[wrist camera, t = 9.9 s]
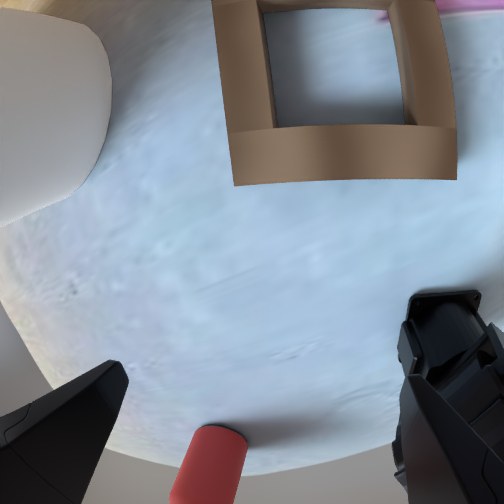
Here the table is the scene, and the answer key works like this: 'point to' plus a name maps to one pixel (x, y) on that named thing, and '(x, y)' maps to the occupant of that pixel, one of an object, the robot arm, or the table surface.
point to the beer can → (210, 467)
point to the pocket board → (345, 135)
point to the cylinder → (48, 109)
